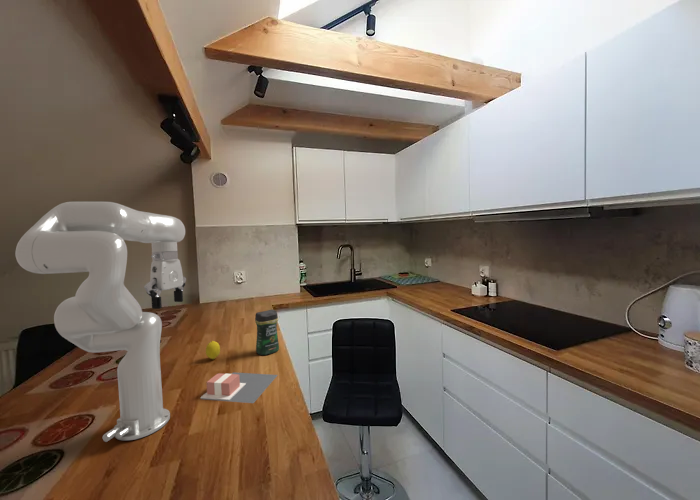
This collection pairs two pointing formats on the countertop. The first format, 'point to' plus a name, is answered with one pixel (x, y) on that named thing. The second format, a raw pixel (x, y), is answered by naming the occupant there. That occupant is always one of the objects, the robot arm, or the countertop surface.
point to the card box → (223, 384)
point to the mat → (251, 387)
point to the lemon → (212, 349)
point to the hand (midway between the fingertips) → (168, 304)
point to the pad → (222, 397)
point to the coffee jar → (266, 332)
